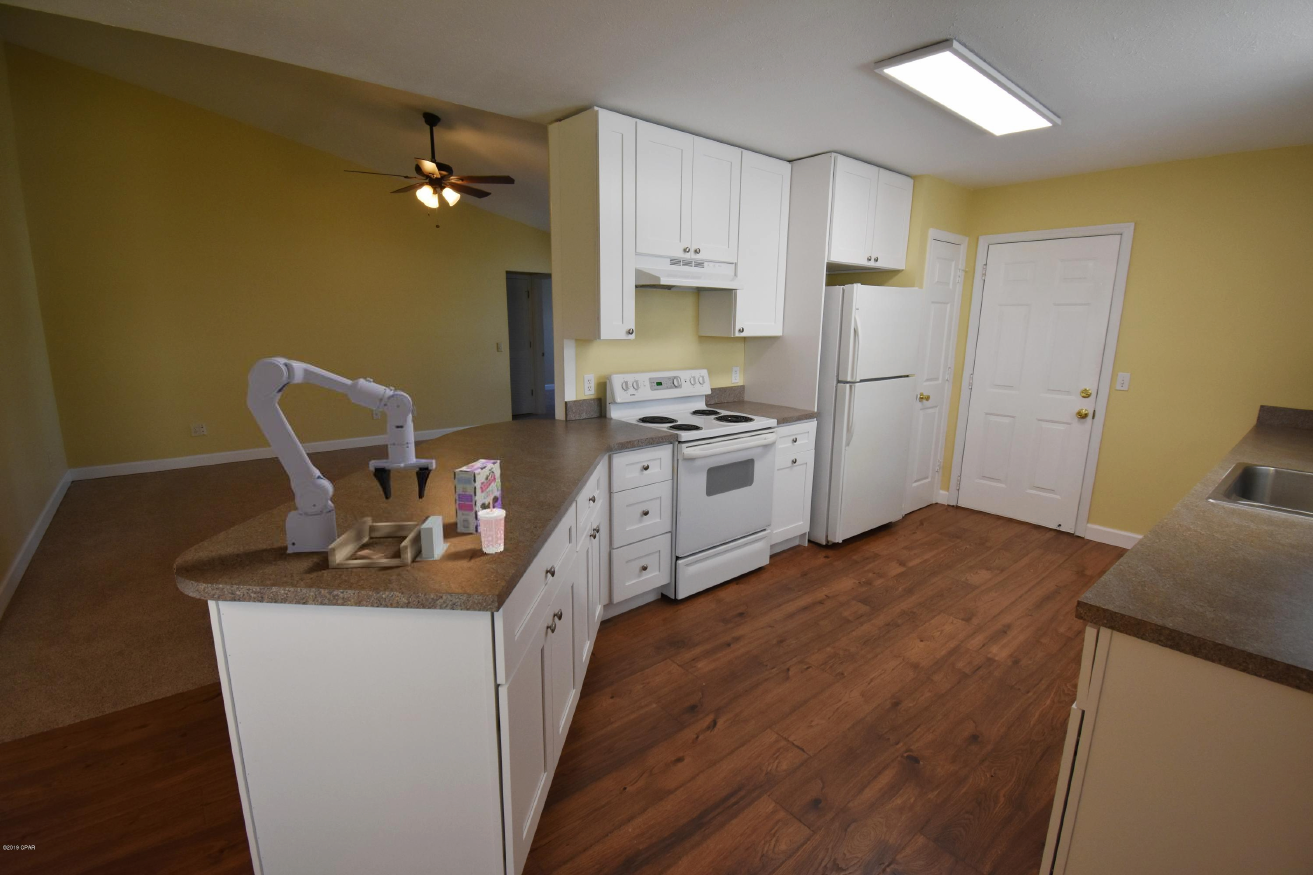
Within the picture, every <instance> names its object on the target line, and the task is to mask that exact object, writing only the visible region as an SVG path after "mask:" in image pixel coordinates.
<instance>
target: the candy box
mask: <svg viewBox="0 0 1313 875" xmlns="http://www.w3.org/2000/svg"><path fill="white" fill-rule="evenodd" d="M453 480H454V482H453V484H454V502H455V503H454V504H455V523H456V524H455V527H456V533H462V534H473V535H475V534H479V533H481V529H480V521H479V518H478V512H480V511H482V510H485V509H490V491H492V507H493V509H495V508H496V509H503V507H502V504H503V503H502V502H503V501H502V485H501V484H502V482H501V481H502V480H501V460H498V459H497V460H496V459H482V458H480V459H478V460H477V461H475V462H472V463H470V464H467V465H465V466H462V467H459V468H457V469H454V470H453Z"/></svg>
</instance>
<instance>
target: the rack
mask: <svg viewBox="0 0 1313 875" xmlns="http://www.w3.org/2000/svg"><path fill="white" fill-rule="evenodd" d="M430 516H431V515H426V516H425V517H424V519H422V521H407V522H406V521H405V522H403V521H402V522H373V521H372V517H371V516H370V517H369V516H367V517H365V516H364V518H362V519H361V520H359V521H358V522H357V523H356V524H355V525H353V526H352V527H351V528H350V529H348V530H347V531H346V532H345V533H344V534H342V535H341V536H340V537H339V539H338V540H336V541H335V542H334V543H333V544H331V545H330V546H329V547H328V548H327V549H328V551H327V557H328V566H329V567H328V568H329V569H342V568H344V569H345V568H370V567H371V568H374V567H399V566H401V567H402V566H404V567H405V566H410V565H411V564H412V562H413V561H415V559H416V558H417V557H418V556H419V554H420V553H421V552H422V543H421V527H422V525H423V524H424V523H425V522H426V521H427V520H428V519H429V517H430ZM384 537H385V538H386V537H388V538H389V537H406V539H405V540H403V541H402V543H401V544H400V546H399V548H400V558H385V559H372V560H360V559H350V560H349V559H348V558H350V557H351V555H353V554H354V553H355V552H356V551H357V550H358V549H359V548H360V547H361V546H363V544H364V543H366V542H367V541H368V540H369V539H370V538H384Z"/></svg>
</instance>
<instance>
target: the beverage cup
mask: <svg viewBox="0 0 1313 875" xmlns="http://www.w3.org/2000/svg"><path fill="white" fill-rule="evenodd" d="M505 517H506V510H505V509H503V508H502V509H496V508H495V509H493V507H492V491H490V509H485V510H482V511H480V512H478V518H479V521H480V529H481V532H480V536H481V544H482V552H483V551H484V552H483V553H485V552H486V554H496V553H495V552H498V553H500V551H501V552H502V551H504V542H505V541H504V539H505V536H504V535H505Z"/></svg>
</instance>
